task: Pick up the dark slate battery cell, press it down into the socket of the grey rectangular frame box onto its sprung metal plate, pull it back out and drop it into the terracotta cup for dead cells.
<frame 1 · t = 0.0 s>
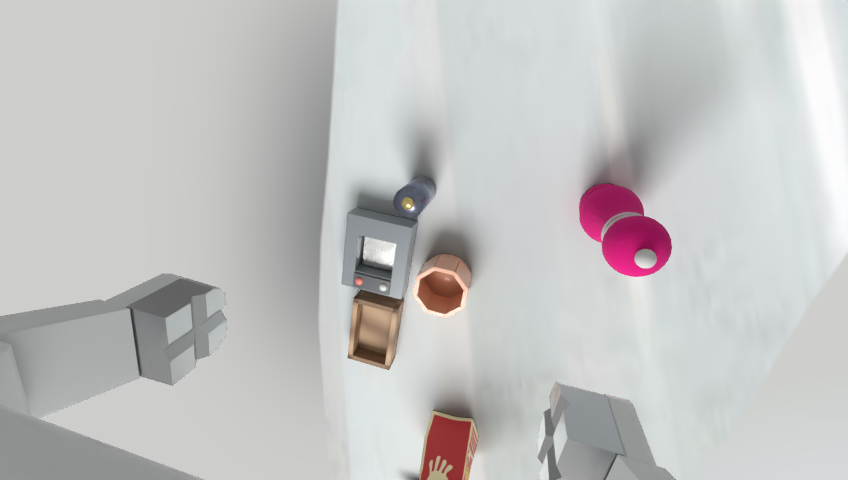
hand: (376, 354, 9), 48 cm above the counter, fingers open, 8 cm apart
cell: (422, 189, 58), on the counter
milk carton: (454, 433, 72), on the counter
pepper mill: (603, 205, 53), on the counter
grey rectangular frame box: (382, 249, 62), on the counter
plate: (380, 251, 62), point 1 cm above the counter, slide at 0.7 cm
cup: (446, 276, 61), on the counter
trough: (378, 324, 67), on the counter
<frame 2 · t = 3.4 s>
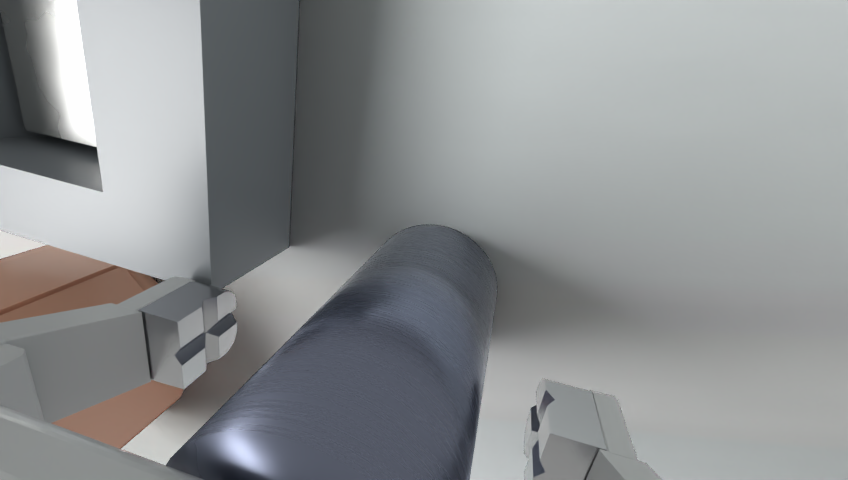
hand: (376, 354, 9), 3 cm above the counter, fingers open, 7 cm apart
cell: (432, 285, 12), on the counter
grey rectangular frame box: (122, 55, 12), on the counter
plate: (94, 52, 11), point 1 cm above the counter, slide at 0.7 cm
cup: (114, 329, 17), on the counter
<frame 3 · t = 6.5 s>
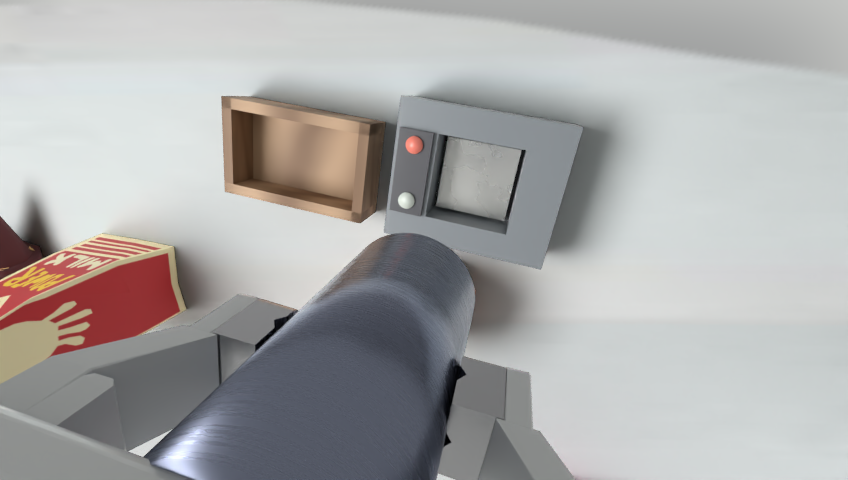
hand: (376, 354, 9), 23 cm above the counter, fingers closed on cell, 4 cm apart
icecream: (35, 249, 45), on the counter
cell: (410, 293, 12), point 20 cm above the counter, touching gripper
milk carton: (148, 276, 43), on the counter
grey rectangular frame box: (478, 176, 30), on the counter
plate: (477, 178, 30), point 1 cm above the counter, slide at 0.7 cm
trough: (313, 154, 33), on the counter
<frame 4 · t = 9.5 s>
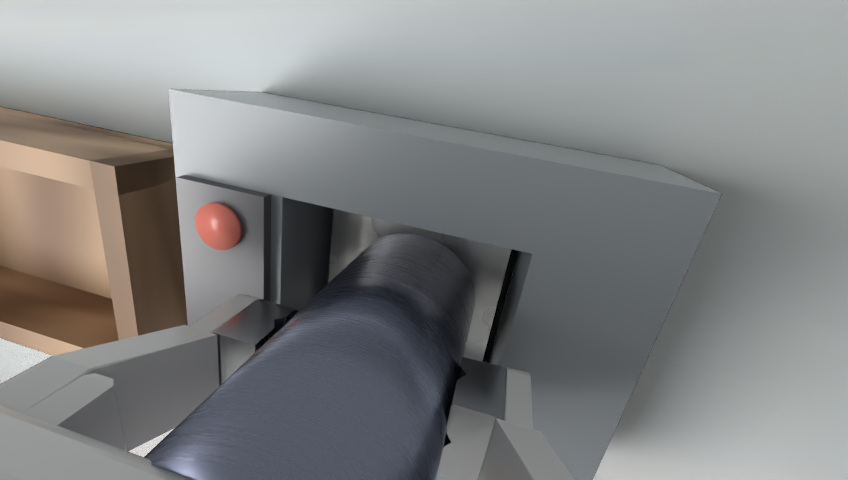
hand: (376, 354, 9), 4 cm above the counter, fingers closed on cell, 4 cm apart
cell: (410, 294, 12), point 1 cm above the counter, touching gripper, plate
grey rectangular frame box: (418, 276, 13), on the counter
plate: (412, 286, 12), point 1 cm above the counter, slide at 0.8 cm, touching cell
trough: (83, 215, 16), on the counter
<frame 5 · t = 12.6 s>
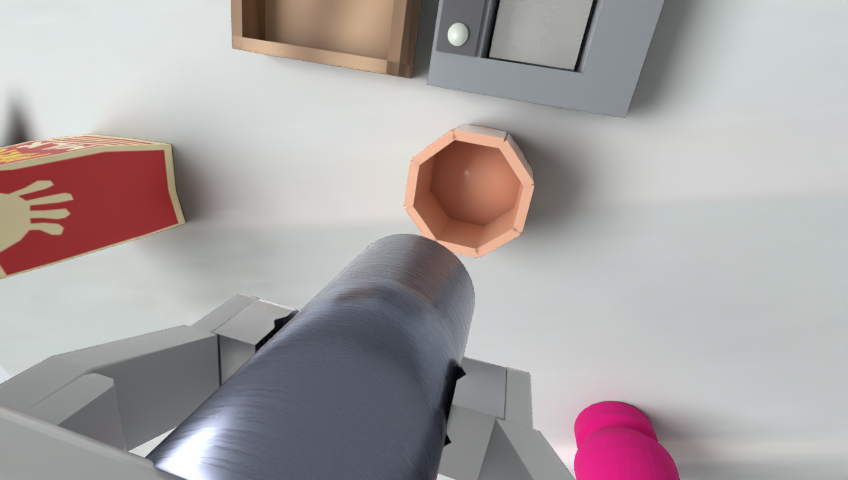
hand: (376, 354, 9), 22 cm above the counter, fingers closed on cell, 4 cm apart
cell: (410, 295, 12), point 19 cm above the counter, touching gripper
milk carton: (141, 185, 37), on the counter
pepper mill: (611, 427, 34), on the counter
grey rectangular frame box: (541, 19, 25), on the counter
plate: (541, 16, 24), point 1 cm above the counter, slide at 0.8 cm
cup: (475, 179, 29), on the counter
trough: (338, 8, 28), on the counter
when the fingers open (7 cm above the counter, at t = 15.1 s): cell drops 3 cm, resting on cup.
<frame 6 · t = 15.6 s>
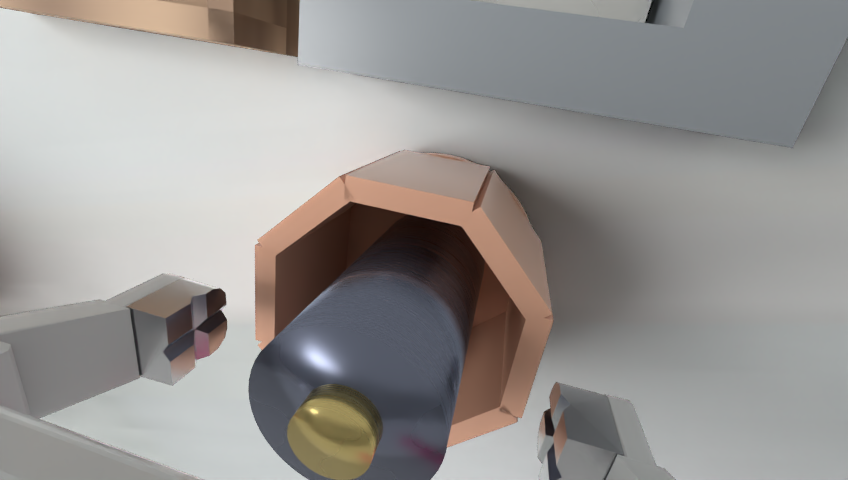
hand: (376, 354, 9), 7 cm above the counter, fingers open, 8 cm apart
cell: (431, 261, 15), point 1 cm above the counter, touching cup
cup: (432, 253, 15), on the counter
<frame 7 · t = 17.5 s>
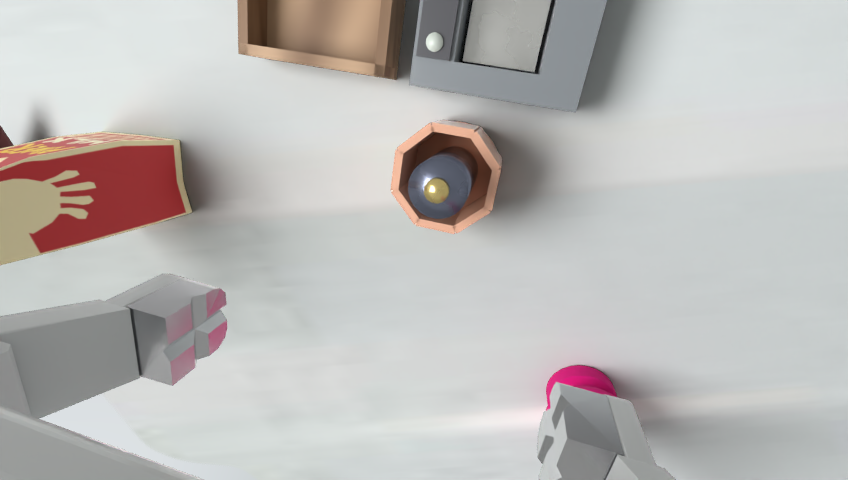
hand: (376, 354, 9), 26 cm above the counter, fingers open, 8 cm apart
cell: (454, 170, 33), point 1 cm above the counter, touching cup
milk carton: (151, 178, 40), on the counter
pepper mill: (579, 390, 38), on the counter
grey rectangular frame box: (506, 28, 29), on the counter
plate: (506, 26, 28), point 1 cm above the counter, slide at 0.8 cm
cup: (454, 168, 33), on the counter
trough: (331, 18, 32), on the counter
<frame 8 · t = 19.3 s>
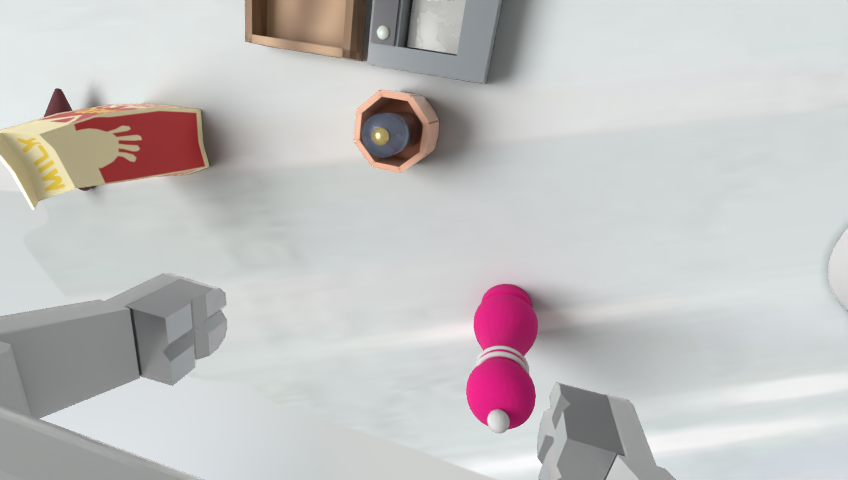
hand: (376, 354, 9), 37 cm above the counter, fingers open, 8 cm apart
icecream: (89, 142, 56), on the counter
cell: (405, 129, 44), point 1 cm above the counter, touching cup
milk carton: (178, 140, 52), on the counter
pepper mill: (506, 305, 49), on the counter
grey rectangular frame box: (438, 23, 40), on the counter
plate: (437, 21, 39), point 1 cm above the counter, slide at 0.8 cm
cup: (405, 128, 44), on the counter
trough: (313, 15, 43), on the counter
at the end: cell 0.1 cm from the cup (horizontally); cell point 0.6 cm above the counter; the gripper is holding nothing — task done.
